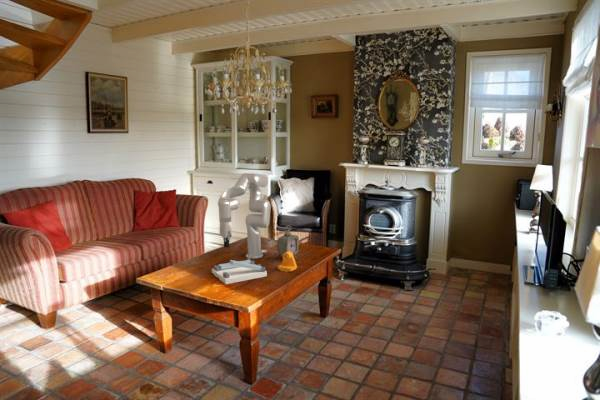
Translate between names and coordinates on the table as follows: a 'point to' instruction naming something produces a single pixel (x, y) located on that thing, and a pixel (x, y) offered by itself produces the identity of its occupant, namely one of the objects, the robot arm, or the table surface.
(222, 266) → the lever
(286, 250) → the tabletop clock
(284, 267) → the bracket
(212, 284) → the table surface
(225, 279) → the board
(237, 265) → the lever
